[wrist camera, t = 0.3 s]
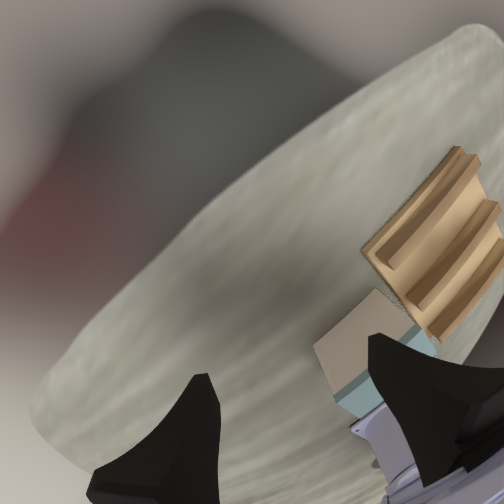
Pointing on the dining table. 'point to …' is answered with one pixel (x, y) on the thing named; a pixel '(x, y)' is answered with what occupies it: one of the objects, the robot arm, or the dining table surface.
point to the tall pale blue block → (364, 350)
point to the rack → (441, 246)
